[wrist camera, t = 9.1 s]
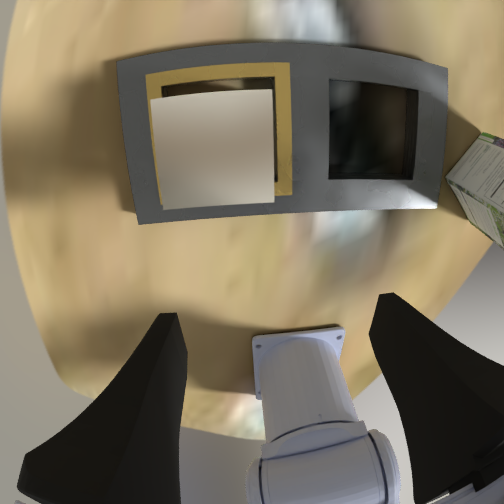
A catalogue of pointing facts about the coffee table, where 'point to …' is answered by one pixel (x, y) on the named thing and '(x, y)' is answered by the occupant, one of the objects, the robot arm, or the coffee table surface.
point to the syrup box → (482, 185)
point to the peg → (214, 148)
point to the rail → (292, 125)
